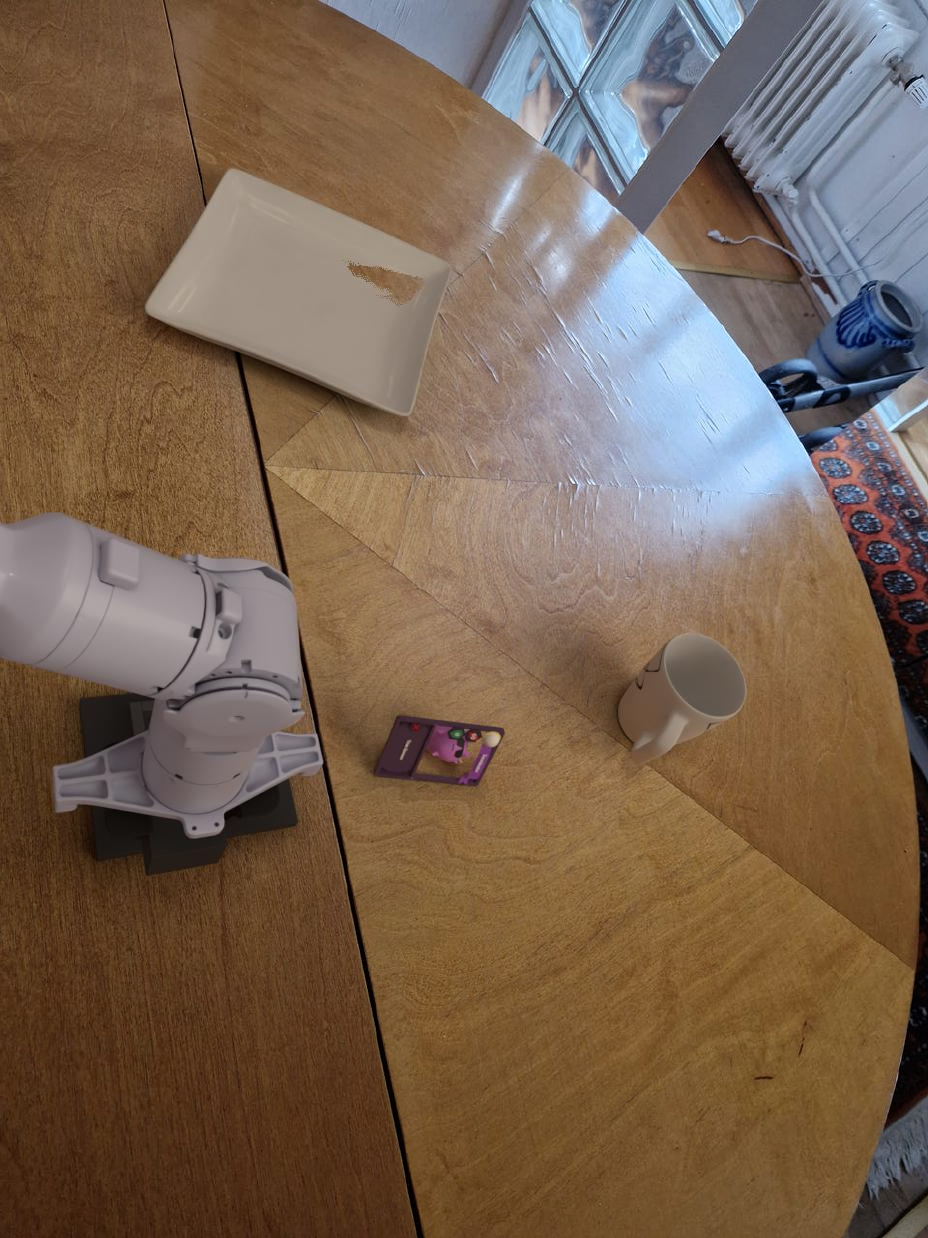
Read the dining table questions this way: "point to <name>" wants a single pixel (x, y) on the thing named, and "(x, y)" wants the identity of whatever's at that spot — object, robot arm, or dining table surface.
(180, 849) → the small block
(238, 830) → the base pad
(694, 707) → the mug
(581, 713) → the dining table surface
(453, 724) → the game card
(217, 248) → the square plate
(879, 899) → the dining table surface
